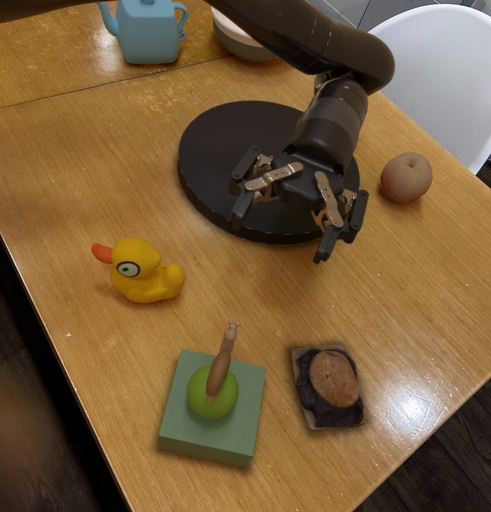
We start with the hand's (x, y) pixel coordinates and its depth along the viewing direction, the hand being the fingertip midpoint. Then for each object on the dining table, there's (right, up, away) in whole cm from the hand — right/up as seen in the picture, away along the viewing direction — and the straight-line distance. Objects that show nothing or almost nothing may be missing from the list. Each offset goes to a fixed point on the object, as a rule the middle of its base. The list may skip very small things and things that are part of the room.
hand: (276, 241), depth 48 cm
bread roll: (+7, -18, +15) cm, 24 cm away
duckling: (-17, -6, +18) cm, 25 cm away
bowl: (-2, +41, +55) cm, 69 cm away
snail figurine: (-7, -17, +6) cm, 19 cm away
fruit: (+23, +9, +37) cm, 45 cm away
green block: (-7, -20, +10) cm, 23 cm away
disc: (+1, +12, +35) cm, 37 cm away
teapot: (-24, +38, +48) cm, 66 cm away
